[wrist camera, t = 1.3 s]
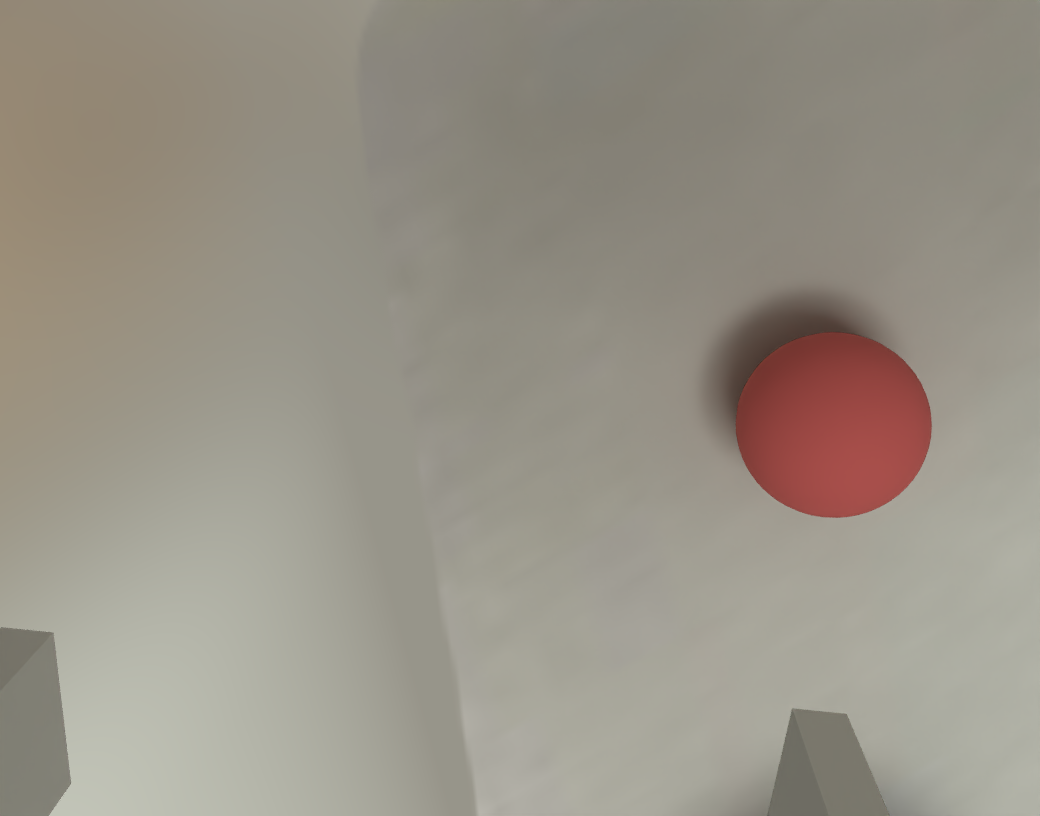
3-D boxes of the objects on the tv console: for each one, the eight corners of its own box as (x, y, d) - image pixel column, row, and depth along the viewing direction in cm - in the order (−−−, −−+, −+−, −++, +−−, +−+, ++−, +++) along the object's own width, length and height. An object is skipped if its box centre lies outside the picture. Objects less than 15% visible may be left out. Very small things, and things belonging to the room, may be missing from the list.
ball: (913, 320, 29) (986, 375, 24) (874, 478, 31) (934, 561, 26) (737, 303, 29) (773, 355, 24) (710, 462, 31) (738, 541, 26)
